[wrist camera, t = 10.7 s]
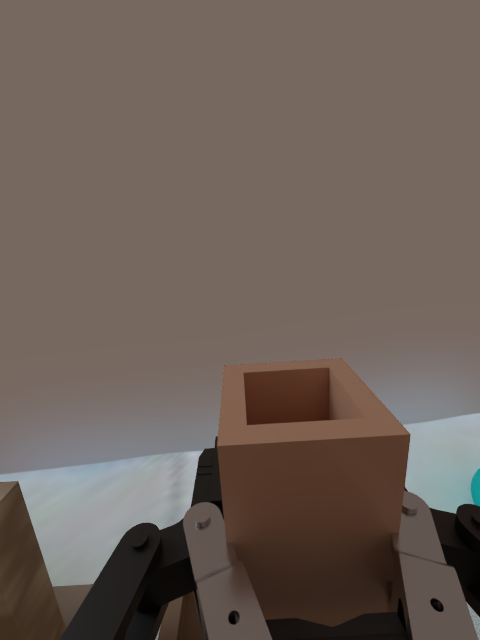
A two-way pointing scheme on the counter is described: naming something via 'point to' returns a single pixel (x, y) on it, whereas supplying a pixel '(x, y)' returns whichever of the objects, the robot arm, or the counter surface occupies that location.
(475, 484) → the donuts
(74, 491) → the counter surface
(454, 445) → the counter surface
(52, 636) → the post
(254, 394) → the sleeve
